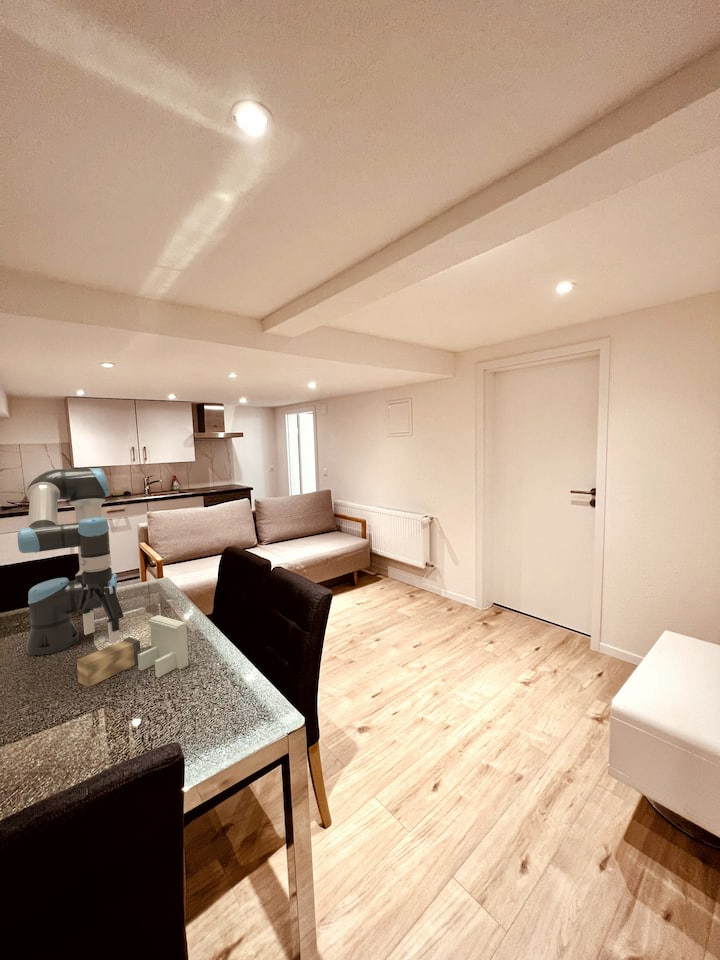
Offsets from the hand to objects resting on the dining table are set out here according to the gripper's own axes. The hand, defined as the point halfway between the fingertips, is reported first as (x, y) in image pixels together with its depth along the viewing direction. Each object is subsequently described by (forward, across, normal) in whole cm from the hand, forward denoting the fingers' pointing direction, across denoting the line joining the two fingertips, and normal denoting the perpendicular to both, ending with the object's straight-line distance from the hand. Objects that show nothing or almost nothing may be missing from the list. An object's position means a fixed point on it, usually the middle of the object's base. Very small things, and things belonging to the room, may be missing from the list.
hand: (101, 637), depth 123 cm
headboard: (+12, +12, +11) cm, 20 cm away
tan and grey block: (+12, -1, +2) cm, 12 cm away
